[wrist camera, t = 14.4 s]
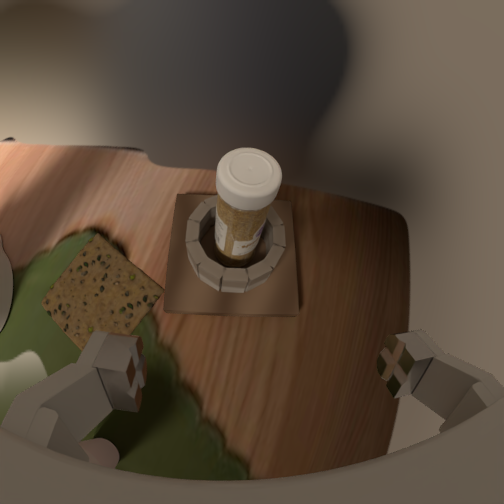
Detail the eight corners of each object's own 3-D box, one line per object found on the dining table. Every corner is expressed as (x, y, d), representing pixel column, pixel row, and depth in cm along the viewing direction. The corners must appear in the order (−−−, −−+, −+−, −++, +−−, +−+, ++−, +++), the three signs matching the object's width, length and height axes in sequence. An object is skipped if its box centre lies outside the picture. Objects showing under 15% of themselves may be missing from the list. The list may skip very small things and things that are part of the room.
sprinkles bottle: (250, 273, 30) (277, 203, 17) (208, 262, 29) (208, 185, 17) (258, 236, 32) (287, 154, 19) (219, 226, 31) (226, 139, 19)
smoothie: (120, 425, 22) (56, 459, 10) (139, 476, 20) (94, 535, 7) (72, 427, 21) (-4, 449, 8) (90, 476, 19) (29, 520, 6)
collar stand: (165, 312, 28) (155, 300, 23) (178, 200, 34) (174, 173, 29) (294, 316, 30) (311, 305, 25) (288, 207, 35) (299, 181, 30)
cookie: (168, 290, 30) (166, 288, 29) (104, 373, 25) (101, 373, 24) (99, 232, 31) (96, 229, 30) (41, 304, 26) (37, 302, 25)
